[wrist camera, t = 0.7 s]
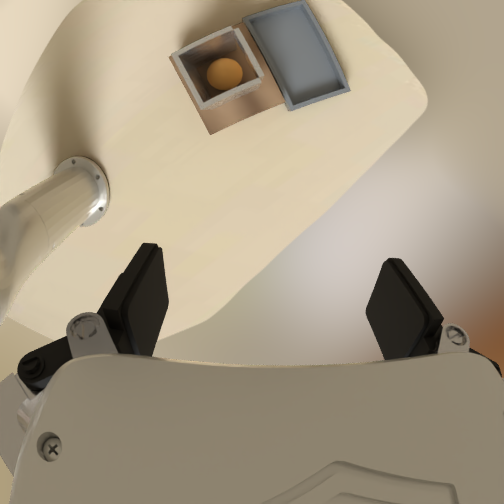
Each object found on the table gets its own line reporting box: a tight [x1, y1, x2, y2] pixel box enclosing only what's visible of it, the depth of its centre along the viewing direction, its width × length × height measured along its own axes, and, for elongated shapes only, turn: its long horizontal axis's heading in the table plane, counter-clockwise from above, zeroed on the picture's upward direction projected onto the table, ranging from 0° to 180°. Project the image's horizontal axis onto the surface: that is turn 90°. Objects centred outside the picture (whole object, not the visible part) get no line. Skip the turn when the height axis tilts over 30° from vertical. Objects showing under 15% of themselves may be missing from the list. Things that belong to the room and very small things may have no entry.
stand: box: [169, 22, 285, 135], centre depth 29 cm, size 10×12×5 cm
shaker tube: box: [171, 26, 264, 110], centre depth 23 cm, size 6×6×9 cm
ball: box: [207, 58, 243, 90], centre depth 25 cm, size 4×4×4 cm
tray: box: [242, 0, 351, 111], centre depth 28 cm, size 9×15×2 cm, turn 25°
